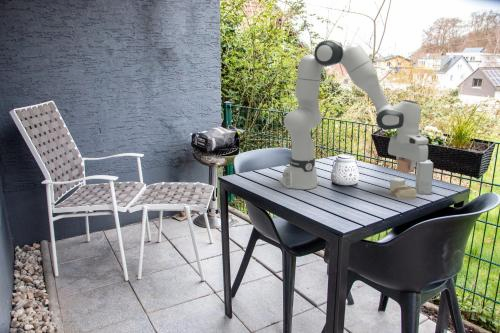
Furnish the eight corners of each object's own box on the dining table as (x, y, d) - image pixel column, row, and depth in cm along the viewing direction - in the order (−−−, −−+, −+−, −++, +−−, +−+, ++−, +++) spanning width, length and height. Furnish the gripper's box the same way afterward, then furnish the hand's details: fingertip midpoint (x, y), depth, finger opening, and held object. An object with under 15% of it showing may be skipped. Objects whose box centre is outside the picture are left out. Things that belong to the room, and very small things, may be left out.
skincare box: (431, 194, 174) (434, 163, 171) (417, 194, 176) (420, 162, 172) (427, 189, 182) (430, 159, 179) (414, 188, 184) (416, 158, 180)
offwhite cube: (389, 189, 184) (390, 179, 182) (395, 187, 187) (396, 177, 185) (398, 191, 180) (399, 181, 179) (404, 189, 183) (405, 179, 182)
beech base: (390, 194, 176) (390, 186, 175) (405, 193, 178) (405, 185, 177) (400, 200, 169) (401, 191, 168) (416, 198, 170) (416, 190, 170)
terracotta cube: (396, 170, 172) (397, 160, 171) (405, 169, 174) (406, 158, 172) (405, 173, 167) (406, 162, 166) (413, 171, 169) (414, 161, 168)
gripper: (385, 134, 175) (383, 163, 178) (420, 141, 156) (417, 173, 160) (396, 133, 177) (394, 162, 180) (431, 140, 159) (428, 172, 162)
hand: (405, 167), depth 170 cm, fingers closed on terracotta cube, 5 cm apart
